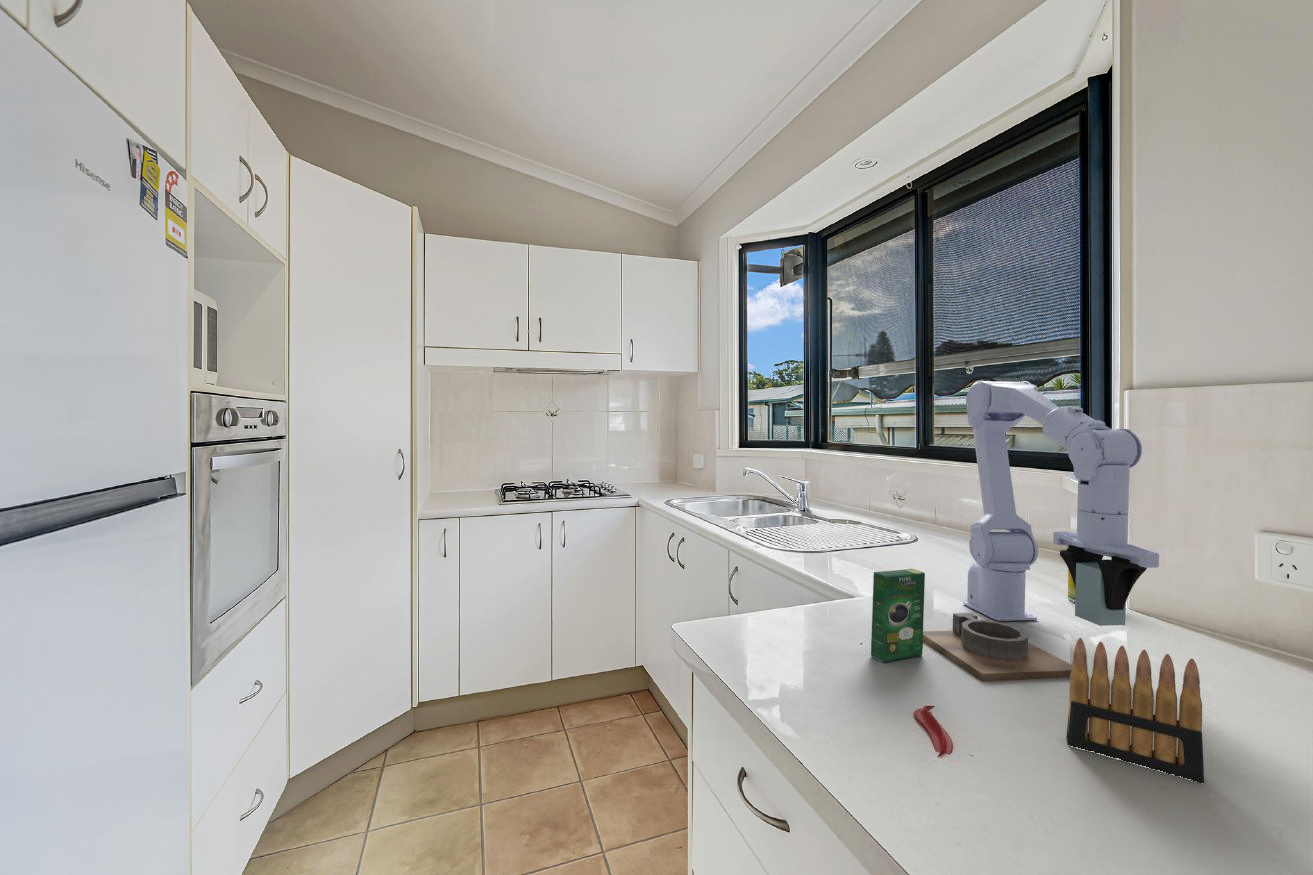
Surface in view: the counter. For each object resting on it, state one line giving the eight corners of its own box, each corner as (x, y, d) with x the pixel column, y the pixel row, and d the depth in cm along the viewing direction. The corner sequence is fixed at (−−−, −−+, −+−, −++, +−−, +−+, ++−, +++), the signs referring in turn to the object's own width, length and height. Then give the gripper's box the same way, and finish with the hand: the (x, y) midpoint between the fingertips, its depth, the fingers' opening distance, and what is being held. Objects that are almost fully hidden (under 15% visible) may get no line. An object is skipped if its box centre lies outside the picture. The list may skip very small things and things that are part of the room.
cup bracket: (918, 637, 88) (918, 613, 88) (1002, 634, 89) (1002, 611, 89) (982, 680, 73) (983, 652, 73) (1081, 676, 74) (1082, 648, 74)
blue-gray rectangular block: (1074, 615, 79) (1076, 562, 79) (1099, 614, 79) (1100, 562, 79) (1099, 625, 75) (1101, 570, 75) (1125, 624, 75) (1126, 569, 75)
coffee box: (910, 648, 83) (911, 566, 83) (925, 656, 81) (926, 571, 80) (869, 655, 81) (870, 571, 80) (883, 664, 78) (885, 576, 78)
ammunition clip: (1067, 746, 58) (1070, 638, 58) (1066, 738, 60) (1068, 633, 59) (1204, 784, 52) (1208, 664, 52) (1199, 774, 53) (1202, 657, 53)
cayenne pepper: (917, 704, 67) (918, 689, 67) (959, 715, 65) (959, 700, 65) (901, 751, 58) (902, 734, 57) (950, 767, 55) (950, 748, 55)
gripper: (1036, 504, 84) (1034, 588, 84) (1126, 520, 69) (1123, 622, 70) (1077, 504, 84) (1074, 587, 85) (1174, 520, 70) (1171, 621, 70)
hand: (1099, 603), depth 77 cm, fingers closed on blue-gray rectangular block, 4 cm apart
